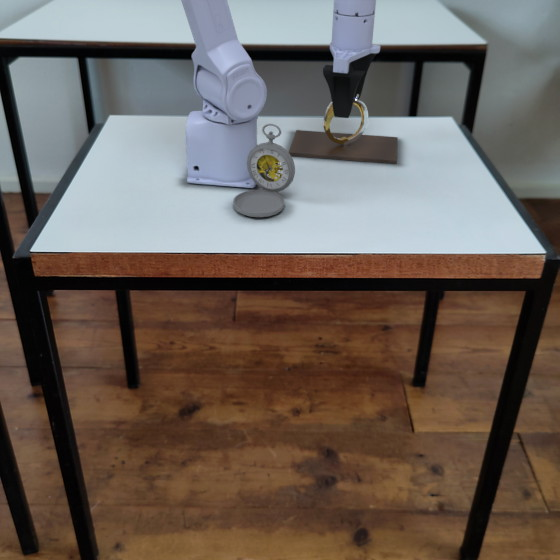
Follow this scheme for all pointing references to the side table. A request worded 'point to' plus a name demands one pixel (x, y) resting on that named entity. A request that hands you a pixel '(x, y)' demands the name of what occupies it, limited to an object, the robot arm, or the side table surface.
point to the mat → (344, 147)
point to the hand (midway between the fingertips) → (347, 107)
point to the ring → (364, 121)
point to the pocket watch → (266, 178)
